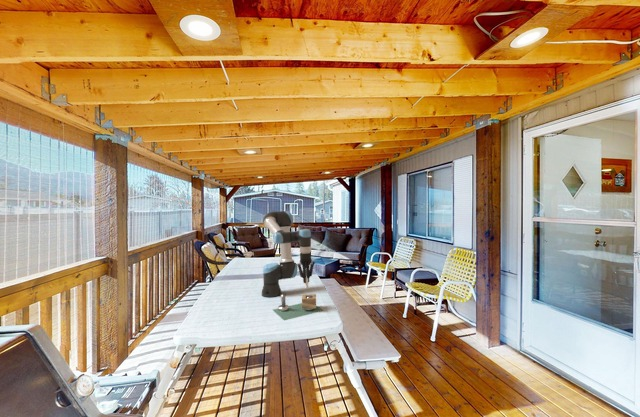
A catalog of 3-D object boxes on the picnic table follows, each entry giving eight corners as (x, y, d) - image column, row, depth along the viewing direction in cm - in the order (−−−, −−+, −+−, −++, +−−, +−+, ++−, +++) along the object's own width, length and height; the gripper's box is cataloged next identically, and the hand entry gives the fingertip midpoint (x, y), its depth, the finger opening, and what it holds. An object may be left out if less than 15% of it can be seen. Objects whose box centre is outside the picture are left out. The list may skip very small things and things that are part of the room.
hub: (301, 308, 193) (301, 296, 193) (311, 305, 197) (311, 294, 197) (306, 311, 186) (306, 299, 186) (317, 309, 190) (317, 297, 190)
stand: (276, 309, 192) (276, 294, 192) (286, 306, 196) (286, 292, 195) (280, 312, 186) (280, 297, 186) (290, 310, 190) (290, 295, 189)
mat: (272, 310, 191) (272, 309, 191) (309, 301, 205) (309, 301, 205) (284, 321, 174) (284, 320, 174) (323, 311, 188) (323, 310, 188)
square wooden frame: (302, 303, 196) (302, 294, 196) (316, 303, 196) (315, 294, 196) (302, 308, 187) (301, 299, 187) (315, 308, 187) (315, 299, 187)
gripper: (299, 254, 187) (300, 290, 188) (316, 252, 193) (317, 287, 194) (294, 252, 193) (295, 287, 194) (311, 250, 200) (312, 284, 201)
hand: (306, 287), depth 194 cm, fingers closed
